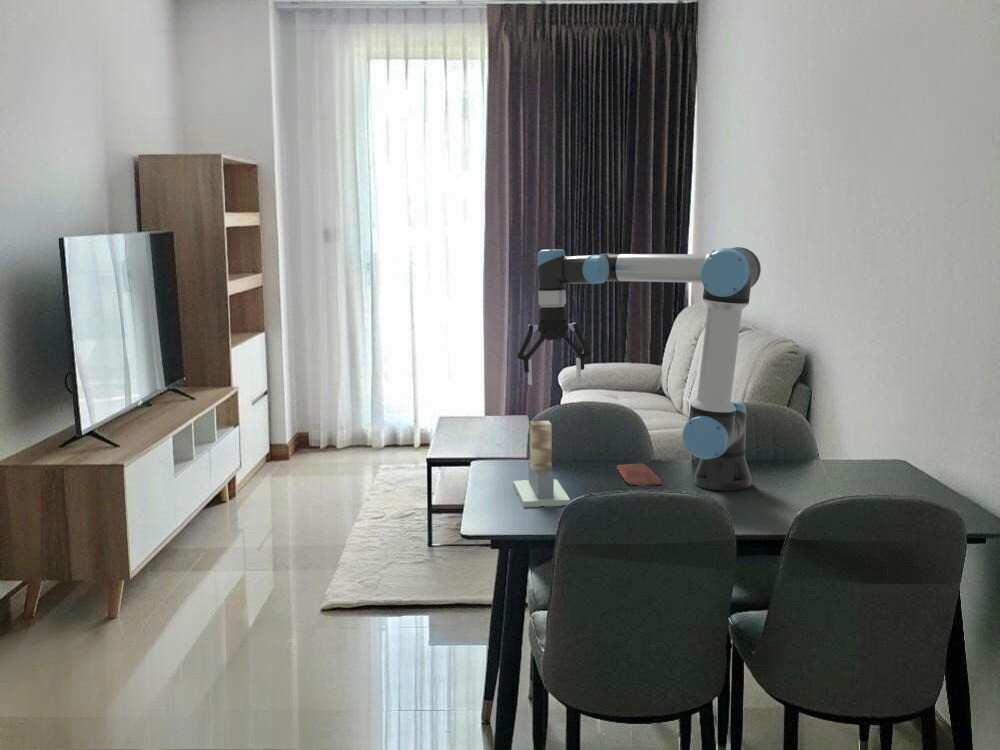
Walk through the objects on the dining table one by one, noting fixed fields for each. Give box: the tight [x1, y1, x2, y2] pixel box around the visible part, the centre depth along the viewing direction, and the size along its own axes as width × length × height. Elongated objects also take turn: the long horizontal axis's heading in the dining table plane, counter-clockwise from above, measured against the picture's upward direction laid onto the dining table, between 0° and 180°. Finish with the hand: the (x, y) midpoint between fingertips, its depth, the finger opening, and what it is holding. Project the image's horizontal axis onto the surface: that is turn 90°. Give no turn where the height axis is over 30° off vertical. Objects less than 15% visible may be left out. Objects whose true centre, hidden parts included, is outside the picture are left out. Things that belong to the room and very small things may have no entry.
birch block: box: [529, 420, 553, 471], centre depth 287 cm, size 5×5×12 cm
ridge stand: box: [512, 459, 571, 508], centre depth 289 cm, size 22×12×8 cm, turn 6°
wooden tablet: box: [616, 462, 663, 486], centre depth 312 cm, size 27×10×2 cm, turn 2°
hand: (554, 383), depth 303 cm, fingers open, 13 cm apart
